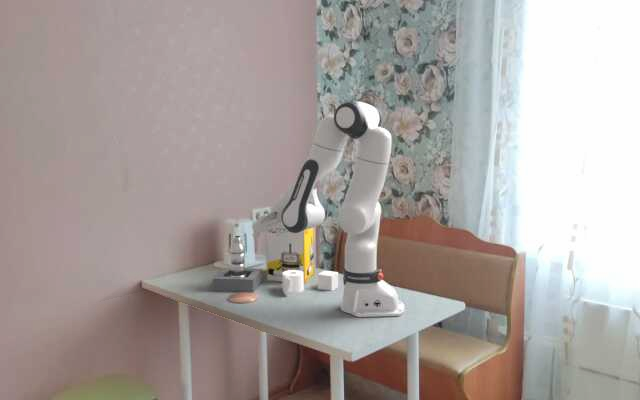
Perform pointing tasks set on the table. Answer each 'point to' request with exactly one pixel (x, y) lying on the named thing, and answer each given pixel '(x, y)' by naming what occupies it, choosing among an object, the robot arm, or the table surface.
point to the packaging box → (290, 253)
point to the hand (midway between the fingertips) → (261, 233)
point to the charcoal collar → (237, 281)
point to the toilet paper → (292, 281)
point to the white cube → (328, 280)
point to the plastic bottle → (237, 257)
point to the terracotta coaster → (243, 297)
